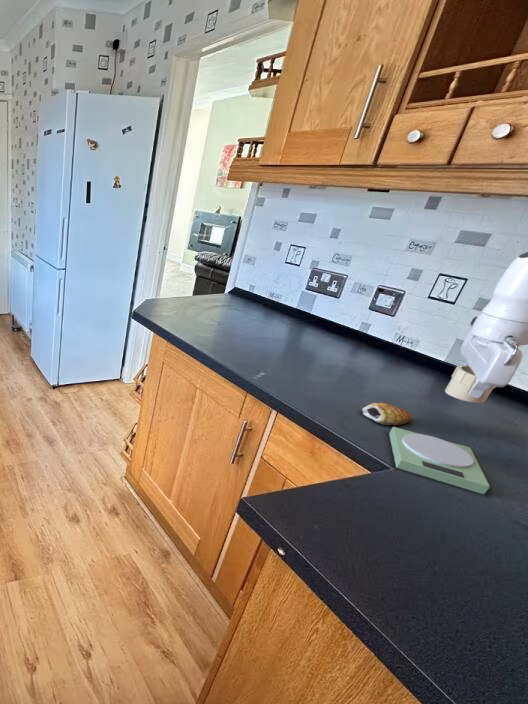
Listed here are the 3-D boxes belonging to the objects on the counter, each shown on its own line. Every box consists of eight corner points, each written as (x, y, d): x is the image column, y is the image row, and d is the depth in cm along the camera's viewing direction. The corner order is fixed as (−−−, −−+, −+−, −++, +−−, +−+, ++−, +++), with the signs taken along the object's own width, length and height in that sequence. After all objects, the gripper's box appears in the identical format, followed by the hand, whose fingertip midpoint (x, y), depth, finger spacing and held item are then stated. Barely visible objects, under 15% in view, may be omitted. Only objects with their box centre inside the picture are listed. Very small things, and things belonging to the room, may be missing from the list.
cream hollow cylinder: (481, 394, 94) (495, 370, 91) (489, 406, 89) (505, 381, 86) (441, 385, 97) (454, 362, 94) (447, 397, 92) (461, 373, 89)
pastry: (392, 411, 104) (399, 398, 102) (416, 426, 98) (425, 413, 96) (357, 412, 103) (364, 399, 101) (380, 427, 97) (388, 414, 95)
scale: (465, 454, 89) (471, 445, 87) (483, 494, 78) (492, 484, 76) (388, 433, 95) (394, 424, 94) (396, 467, 84) (402, 457, 83)
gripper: (544, 349, 76) (502, 412, 83) (509, 320, 92) (476, 376, 98) (497, 341, 80) (459, 403, 86) (470, 314, 95) (440, 369, 101)
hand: (468, 388), depth 92 cm, fingers closed on cream hollow cylinder, 7 cm apart
